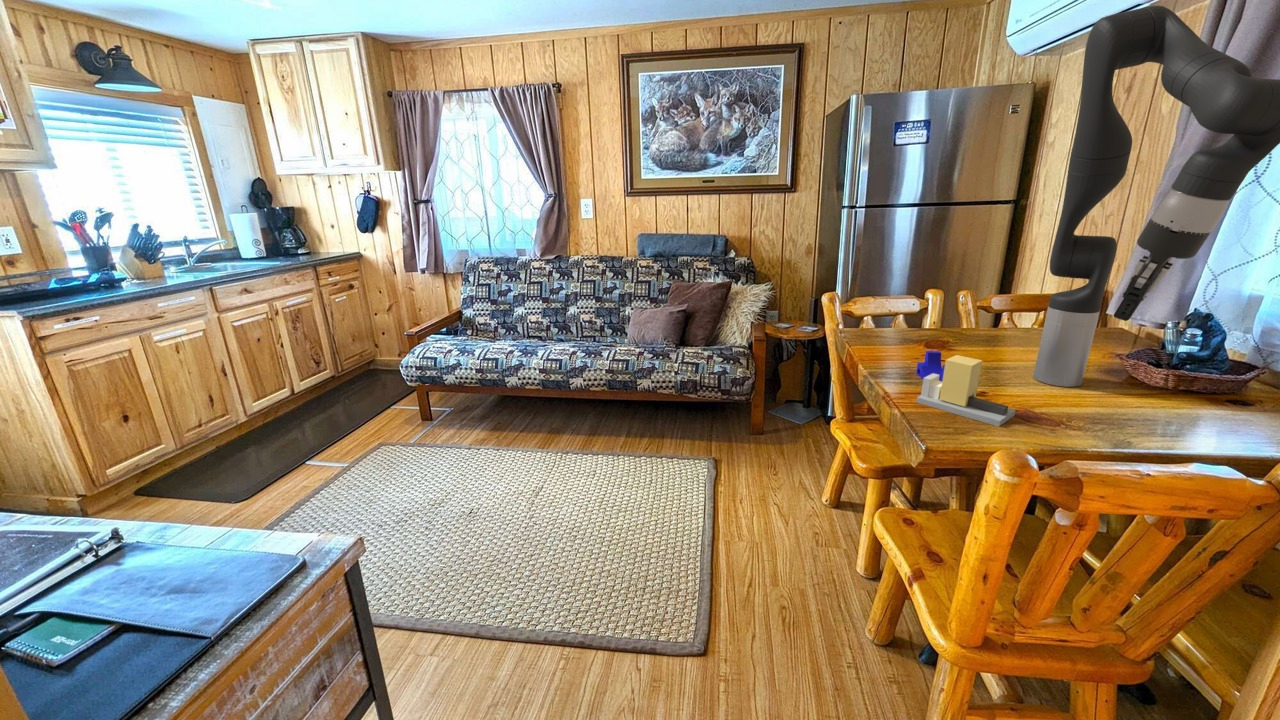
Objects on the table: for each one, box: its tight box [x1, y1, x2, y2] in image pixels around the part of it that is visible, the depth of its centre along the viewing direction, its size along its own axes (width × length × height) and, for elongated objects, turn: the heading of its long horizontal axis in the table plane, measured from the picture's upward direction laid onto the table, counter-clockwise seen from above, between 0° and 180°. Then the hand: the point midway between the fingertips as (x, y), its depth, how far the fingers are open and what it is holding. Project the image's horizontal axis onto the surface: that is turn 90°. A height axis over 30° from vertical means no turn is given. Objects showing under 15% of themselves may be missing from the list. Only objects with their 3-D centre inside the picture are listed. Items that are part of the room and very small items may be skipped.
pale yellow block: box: [939, 354, 983, 407], centre depth 113 cm, size 5×5×9 cm
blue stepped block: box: [916, 350, 945, 381], centre depth 128 cm, size 12×4×6 cm, turn 172°
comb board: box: [915, 373, 1016, 427], centre depth 113 cm, size 8×16×5 cm, turn 38°
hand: (1121, 317), depth 94 cm, fingers closed
